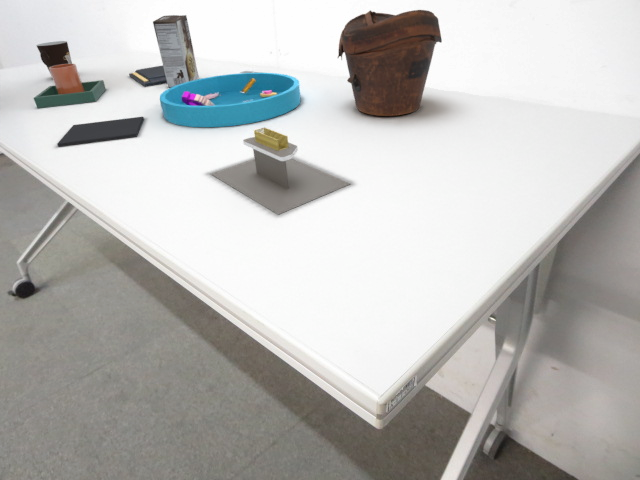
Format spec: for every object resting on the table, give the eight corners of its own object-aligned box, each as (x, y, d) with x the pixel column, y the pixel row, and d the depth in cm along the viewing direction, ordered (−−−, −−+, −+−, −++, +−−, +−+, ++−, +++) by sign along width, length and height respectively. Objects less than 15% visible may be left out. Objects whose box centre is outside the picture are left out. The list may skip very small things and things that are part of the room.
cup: (58, 102, 112) (45, 69, 108) (64, 97, 117) (52, 65, 113) (83, 99, 113) (71, 66, 109) (88, 94, 118) (77, 62, 114)
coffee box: (177, 78, 126) (163, 15, 117) (199, 77, 125) (187, 14, 116) (167, 87, 118) (151, 20, 109) (190, 86, 118) (177, 19, 109)
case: (360, 93, 100) (359, 4, 91) (448, 99, 91) (457, 1, 82) (321, 115, 88) (315, 14, 78) (419, 125, 79) (425, 13, 69)
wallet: (195, 71, 126) (140, 80, 120) (196, 78, 127) (142, 87, 121) (176, 61, 141) (127, 69, 135) (178, 68, 142) (129, 76, 136)
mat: (58, 146, 82) (56, 143, 82) (74, 127, 92) (73, 124, 92) (136, 136, 84) (135, 133, 84) (144, 119, 94) (143, 116, 94)
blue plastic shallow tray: (133, 121, 93) (125, 92, 90) (219, 86, 116) (214, 62, 113) (253, 133, 81) (249, 100, 78) (323, 91, 104) (321, 65, 101)
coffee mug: (66, 73, 147) (55, 41, 142) (84, 74, 144) (73, 41, 138) (34, 81, 138) (20, 47, 133) (52, 83, 135) (39, 47, 130)
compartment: (37, 108, 108) (33, 98, 107) (53, 95, 120) (49, 85, 118) (95, 101, 110) (92, 91, 109) (106, 89, 122) (103, 80, 120)
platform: (276, 151, 72) (271, 111, 69) (350, 183, 60) (349, 136, 57) (210, 173, 66) (201, 131, 63) (278, 214, 54) (271, 164, 51)
